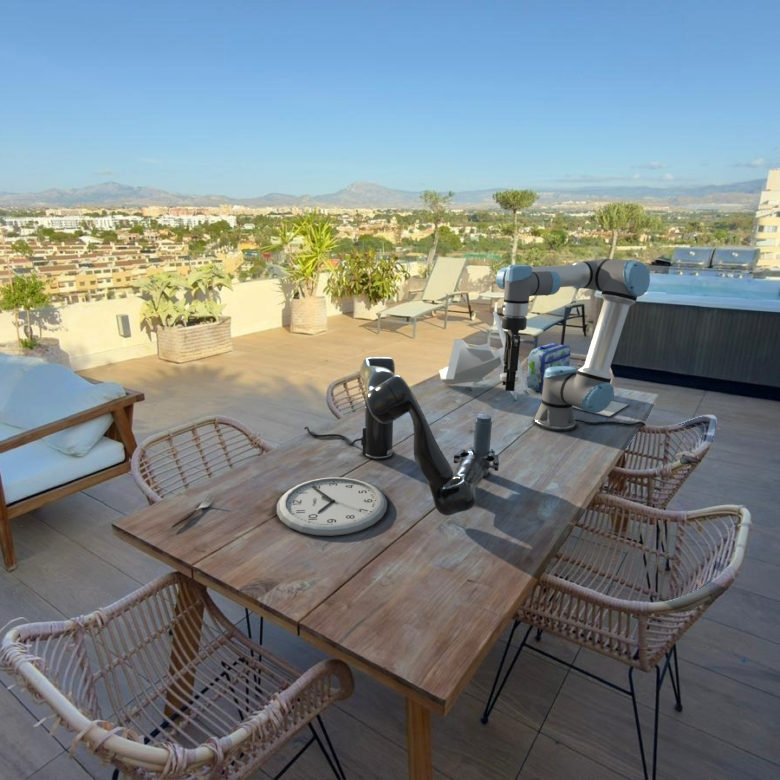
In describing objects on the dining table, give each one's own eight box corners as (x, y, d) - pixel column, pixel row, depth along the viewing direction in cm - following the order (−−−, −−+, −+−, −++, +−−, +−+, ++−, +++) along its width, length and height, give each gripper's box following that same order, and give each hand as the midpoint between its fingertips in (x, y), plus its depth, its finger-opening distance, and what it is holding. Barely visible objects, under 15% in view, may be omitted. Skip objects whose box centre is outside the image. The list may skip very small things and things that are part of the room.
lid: (510, 383, 164) (510, 378, 163) (495, 379, 168) (496, 374, 168) (521, 380, 167) (522, 375, 167) (507, 376, 172) (508, 371, 171)
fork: (167, 528, 130) (166, 521, 130) (209, 498, 145) (208, 492, 144) (175, 530, 130) (174, 523, 129) (216, 500, 144) (216, 494, 143)
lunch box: (542, 395, 240) (547, 351, 233) (522, 390, 247) (526, 347, 241) (569, 384, 257) (575, 343, 251) (550, 380, 264) (554, 339, 258)
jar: (483, 468, 166) (488, 413, 161) (490, 475, 162) (495, 418, 156) (469, 470, 165) (472, 414, 159) (475, 477, 160) (479, 419, 155)
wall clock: (392, 527, 129) (268, 531, 127) (391, 533, 130) (269, 537, 127) (383, 473, 158) (282, 475, 155) (383, 478, 158) (282, 480, 156)
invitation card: (608, 416, 214) (573, 407, 224) (608, 416, 214) (573, 408, 224) (628, 404, 229) (594, 396, 238) (628, 405, 229) (594, 397, 238)
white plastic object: (461, 429, 252) (437, 405, 227) (444, 352, 274) (420, 323, 250) (535, 404, 240) (518, 377, 215) (510, 326, 262) (492, 293, 237)
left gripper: (496, 465, 145) (507, 443, 160) (446, 456, 150) (461, 435, 165) (494, 489, 147) (504, 465, 162) (445, 479, 152) (459, 457, 167)
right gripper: (498, 311, 171) (493, 379, 178) (506, 320, 153) (500, 396, 160) (521, 311, 170) (515, 380, 177) (532, 321, 153) (524, 397, 159)
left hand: (482, 450), depth 164 cm, fingers closed on jar, 5 cm apart
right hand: (508, 387), depth 169 cm, fingers closed on lid, 6 cm apart
